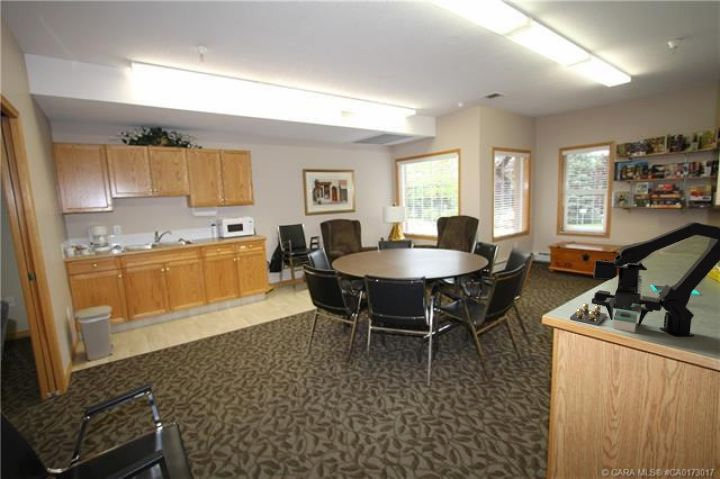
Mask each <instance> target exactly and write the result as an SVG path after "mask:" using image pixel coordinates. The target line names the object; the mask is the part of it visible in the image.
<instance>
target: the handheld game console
mask: <svg viewBox="0 0 720 479" xmlns="http://www.w3.org/2000/svg"><path fill="white" fill-rule="evenodd" d="M664 287H665V285H655V284H650V288H651V290H653V292H657V293H659V292H661V291H662V290H663V289H664ZM691 296H701V293H699V292H698V291H697V290H696V289H694V290H693V291H692V293H691Z"/></svg>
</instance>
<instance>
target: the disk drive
mask: <svg viewBox="0 0 720 479" xmlns="http://www.w3.org/2000/svg"><path fill="white" fill-rule="evenodd" d="M591 304H593V305H596V304H597V305H596V306H601V305H602V306H601V307H605V305H604V304H603V303H600V301H597V300H594V297H593V298H592V297H591ZM613 309H614V310H617V309H623V310H629V311H635V312H637V310H639V309H642V305H640V304H634V303H632V306H630V307H627V306H624V305H616V304H615V303H614V300H613Z"/></svg>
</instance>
